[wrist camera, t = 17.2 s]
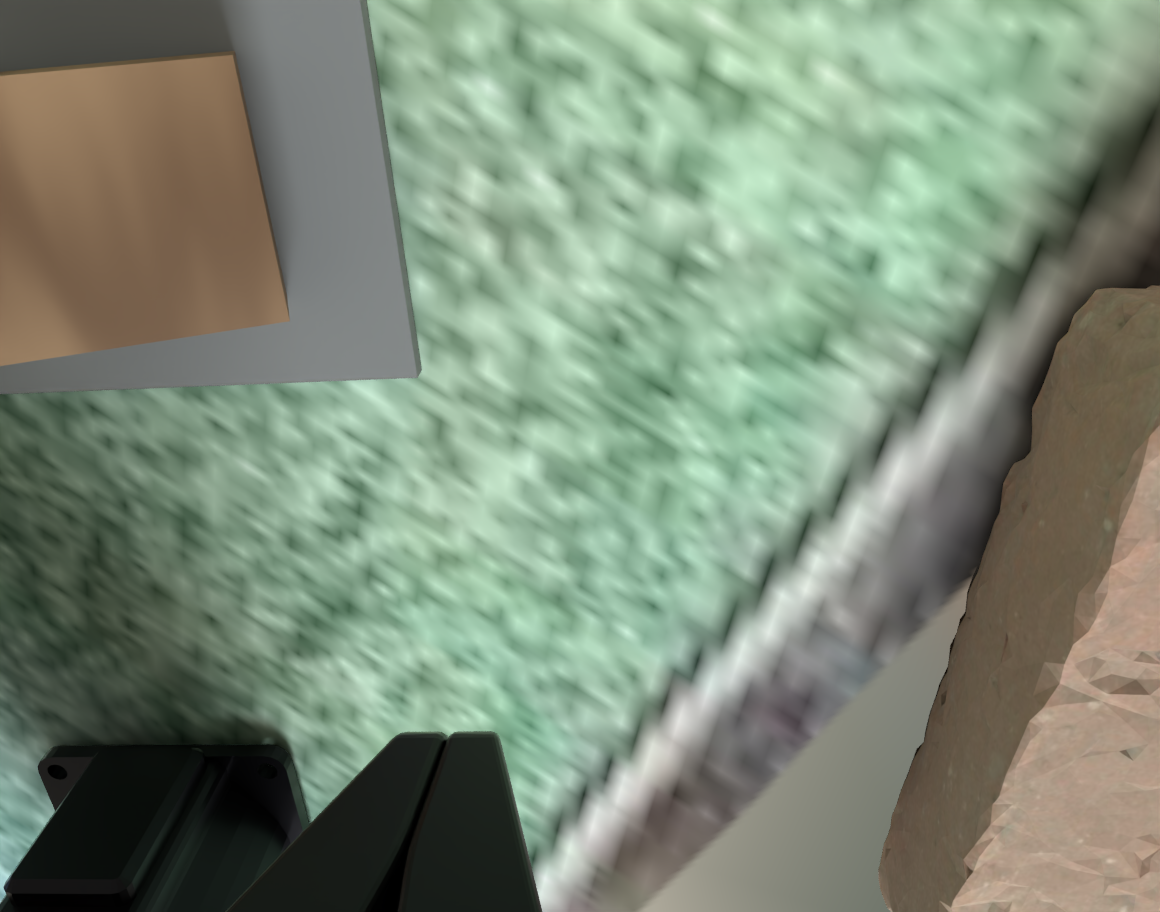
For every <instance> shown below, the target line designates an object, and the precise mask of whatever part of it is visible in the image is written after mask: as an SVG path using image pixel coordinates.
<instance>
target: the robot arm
mask: <svg viewBox="0 0 1160 912" xmlns="http://www.w3.org/2000/svg"><path fill="white" fill-rule="evenodd" d="M267 764H270V765H272V766H274V767H271V766H269V765H267ZM38 770H39V774H40V776H41V779H42V781H43V783H44V786H45V788H46V790H47V793H48V795H49V797H50V800H51V802H52V804H53V807H54V809H55V813H54V814H53V815H52V817H51V818H50V820H49V821H48V822H47V824H46V825H45V827H44V828H43V830H42V831H41V832H40V834H39V835H38V837H37V838H36V839H35V841H34V842H33V844H32V845H31V847H30V848H29V849H28V851H27V852H26V854H25V855H24V857H23V858H22V859H21V861H20V862H19V864H18V865H17V866H16V868H15V869H14V871H13V872H12V874H11V875H10V876H9V878H8V879H7V881H6V883H5V885H4V890H5V892H6V896H5V897H4V898H3V900H2V901H1V903H0V912H542V909H541V905H540V901H539V896H538V892H537V888H536V884H535V880H534V876H533V872H532V868H531V864H530V860H529V855H528V851H527V847H526V843H525V839H524V835H523V831H522V827H521V823H520V819H519V814H518V810H517V806H516V802H515V798H514V794H513V790H512V786H511V782H510V778H509V773H508V769H507V765H506V761H505V757H504V753H503V749H502V745H501V741H500V738H499V736H498V735H497V733H495V732H491V731H474V732H454V733H453V734H451V735H450V736H449V737H448V736H447V735H446V734H444V733H442V732H404V733H400V734H399V735H397V736H395V737H394V738H393V739H392V740H391V741H390V742H389V743H388V744H387V745H386V746H385V747H384V748H383V749H382V750H381V751H380V752H379V753H378V754H377V755H376V756H375V757H374V758H373V759H372V760H371V761H370V762H369V763H368V765H367V766H366V767H365V768H364V769H363V770H362V771H361V772H360V773H359V774H358V775H357V776H356V777H355V778H354V779H353V780H352V781H351V782H350V783H349V784H348V785H347V786H346V787H345V788H344V789H343V790H342V791H341V792H340V793H339V795H338V796H337V797H336V798H335V799H334V800H333V801H332V802H331V803H330V804H329V805H328V806H327V807H326V808H325V809H324V810H323V811H322V812H321V813H320V814H319V815H318V816H317V817H316V818H315V819H314V820H313V821H312V822H311V823H310V825H309V822H308V818H307V814H306V810H305V807H304V803H303V799H302V795H301V792H300V788H299V784H298V780H297V777H296V773H295V769H294V765H293V761H292V759H291V757H290V755H289V753H288V752H286V751H285V750H284V749H283V748H281V747H278V746H276V745H125V746H57V747H53V748H51V749H50V750H49V751H48V752H47V753H46V754H45V756H44V757H43V758H42V760H41V761H40V763H39V765H38Z"/></svg>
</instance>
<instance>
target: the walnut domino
mask: <svg viewBox="0 0 1160 912" xmlns="http://www.w3.org/2000/svg"><path fill="white" fill-rule="evenodd" d="M288 321H290V318H289V308H288V299H287V293H286V289H285V284H284V279H283V275H282V270H281V265H280V261H279V256H278V251H277V247H276V242H275V237H274V233H273V228H272V223H271V219H270V214H269V209H268V205H267V200H266V195H265V190H264V186H263V181H262V176H261V172H260V167H259V162H258V158H257V153H256V148H255V144H254V139H253V134H252V130H251V125H250V120H249V116H248V111H247V106H246V102H245V97H244V92H243V87H242V83H241V78H240V73H239V69H238V64H237V59H236V55H235V51H227V52H216V53H204V54H193V55H182V56H171V57H160V58H149V59H137V60H126V61H115V62H104V63H93V64H82V65H70V66H59V67H48V68H37V69H26V70H15V71H3V72H0V366H4V365H10V364H17V363H23V362H30V361H36V360H43V359H49V358H55V357H62V356H68V355H75V354H81V353H88V352H94V351H101V350H107V349H114V348H120V347H127V346H133V345H140V344H146V343H153V342H159V341H165V340H172V339H178V338H185V337H191V336H198V335H204V334H211V333H217V332H224V331H230V330H237V329H243V328H250V327H256V326H262V325H269V324H275V323H282V322H288Z"/></svg>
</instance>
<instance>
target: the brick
mask: <svg viewBox="0 0 1160 912" xmlns="http://www.w3.org/2000/svg"><path fill="white" fill-rule="evenodd" d="M879 883H880V889H881V892H882V895H883V897H884V900H885V903H886V905H887V908H888V909H890V911H891V912H1160V286H1153V285H1151V286H1149V287H1148V288H1146V289H1134V288H1106V289H1097V290H1096V291H1095V292H1094V293H1093V294H1092V296H1091V297H1090V298H1089V299H1088V301H1087V302H1086V303H1085V304H1084V305H1083V306H1082V307H1081V308H1080V309H1079V310H1078V311H1077V312H1076V313H1075V314H1074V316H1073V319H1072V322H1071V325H1070V327H1069V330H1068V333H1067V334H1066V335H1065V336H1064V337H1063V338H1062V339H1061V340H1060V341H1059V342H1058V343H1057V346H1056V349H1055V352H1054V356H1053V359H1052V362H1051V365H1050V368H1049V371H1048V373H1047V376H1046V378H1045V381H1044V383H1043V386H1042V388H1041V391H1040V393H1039V395H1038V397H1037V399H1036V401H1035V403H1034V405H1033V408H1032V441H1031V451H1030V453H1029V454H1028V455H1027V456H1026V457H1025V459H1022V460H1020V461H1018V462H1016V463H1014V464H1013V466H1012V467H1011V469H1010V471H1009V473H1008V475H1007V477H1006V479H1005V481H1004V483H1003V489H1002V497H1001V506H1000V513H999V515H998V517H997V519H996V520H995V522H994V525H993V528H992V531H991V534H990V538H989V540H988V543H987V546H986V548H985V551H984V554H983V557H982V560H981V564H980V567H979V570H978V573H977V575H976V576H975V577H974V578H973V579H972V580H971V583H970V586H969V589H968V592H967V601H966V610H965V613H964V614H963V616H962V617H961V618H960V622H959V626H958V630H957V633H956V635H955V637H954V639H953V641H952V643H951V645H950V653H949V664H948V667H947V669H946V671H945V673H944V675H943V677H942V680H941V682H940V684H939V687H938V691H937V694H936V697H935V700H934V703H933V705H932V708H931V711H930V714H929V718H928V722H927V726H926V731H925V737H924V742H923V743H922V744H921V745H920V746H919V747H918V748H917V750H916V752H915V755H914V758H913V760H912V763H911V766H910V769H909V772H908V774H907V777H906V779H905V782H904V784H903V787H902V789H901V792H900V795H899V799H898V802H897V805H896V807H895V810H894V812H893V815H892V819H891V827H890V830H889V833H888V837H887V839H886V841H885V843H884V847H883V852H882V857H881V863H880V866H879Z"/></svg>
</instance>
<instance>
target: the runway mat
mask: <svg viewBox="0 0 1160 912" xmlns="http://www.w3.org/2000/svg"><path fill="white" fill-rule="evenodd" d="M227 51H235V55H236V59H237V64H238V69H239V73H240V78H241V83H242V87H243V92H244V97H245V102H246V106H247V111H248V116H249V120H250V125H251V130H252V134H253V139H254V144H255V148H256V153H257V158H258V162H259V167H260V172H261V176H262V181H263V186H264V190H265V195H266V200H267V205H268V209H269V214H270V219H271V223H272V228H273V233H274V237H275V242H276V247H277V251H278V256H279V261H280V265H281V270H282V275H283V279H284V284H285V289H286V293H287V299H288V308H289V318H290V321H288V322H282V323H275V324H269V325H262V326H256V327H250V328H243V329H237V330H230V331H224V332H217V333H211V334H204V335H198V336H191V337H185V338H178V339H172V340H165V341H159V342H153V343H146V344H140V345H133V346H127V347H120V348H114V349H107V350H101V351H94V352H88V353H81V354H75V355H68V356H62V357H55V358H49V359H43V360H36V361H30V362H23V363H17V364H10V365H4V366H0V394H18V393H43V392H68V391H93V390H119V389H144V388H169V387H194V386H219V385H245V384H270V383H295V382H320V381H346V380H371V379H396V378H418V376H419V374H420V372H421V370H422V369H421V363H420V356H419V349H418V343H417V336H416V329H415V323H414V316H413V309H412V303H411V296H410V289H409V283H408V276H407V269H406V263H405V256H404V249H403V243H402V236H401V229H400V223H399V216H398V209H397V203H396V196H395V189H394V183H393V176H392V169H391V163H390V156H389V149H388V142H387V136H386V129H385V122H384V116H383V109H382V102H381V96H380V89H379V82H378V76H377V69H376V62H375V56H374V49H373V42H372V36H371V29H370V22H369V16H368V9H367V2H366V0H0V72H3V71H15V70H26V69H37V68H48V67H59V66H70V65H82V64H93V63H104V62H115V61H126V60H137V59H149V58H160V57H171V56H182V55H193V54H204V53H216V52H227Z"/></svg>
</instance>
